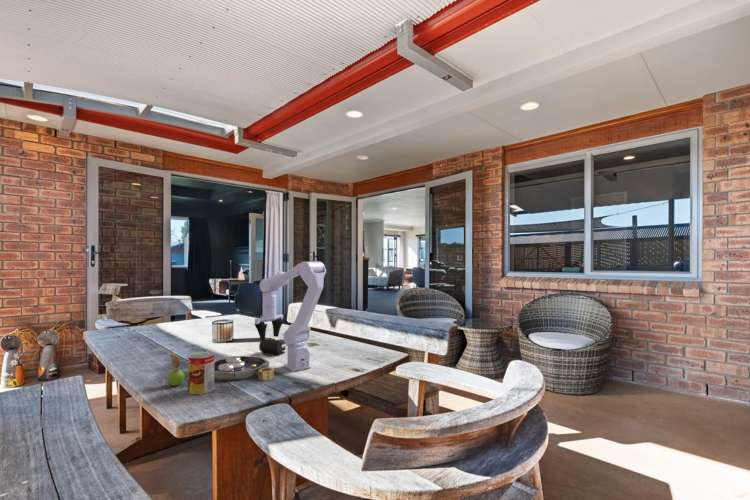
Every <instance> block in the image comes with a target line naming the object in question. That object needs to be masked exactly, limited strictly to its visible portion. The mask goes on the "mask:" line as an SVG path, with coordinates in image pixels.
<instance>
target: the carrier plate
mask: <svg viewBox="0 0 750 500" xmlns="http://www.w3.org/2000/svg"><path fill="white" fill-rule="evenodd" d="M268 367H270V361H269V360H267V359H266V358H264V357H263V356H256V355H255V356H254V355H238V356H237V355H232V356H227V357H225V358H220V359H217V360H214V381H220V382H237V381H242V380H243V381H244V380H248V379H253V378H258V371H259V369H261V368H268Z"/></svg>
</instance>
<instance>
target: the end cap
mask: <svg viewBox="0 0 750 500" xmlns="http://www.w3.org/2000/svg"><path fill="white" fill-rule="evenodd" d="M285 344H286V343H285V342H284V339H283V338H282V339H281V338H280V339H276V338H272V337H270V338H265V340H260V342H259V345H258V347H259V351H260V352H262V354H266V355H267V354H268V355H277V356H282V355H284V354H285V353H286V351H285V350H286V346H283V345H285Z"/></svg>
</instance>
